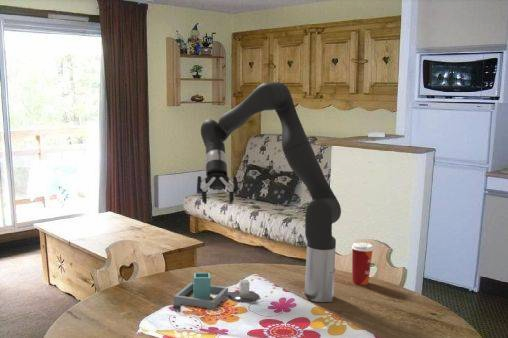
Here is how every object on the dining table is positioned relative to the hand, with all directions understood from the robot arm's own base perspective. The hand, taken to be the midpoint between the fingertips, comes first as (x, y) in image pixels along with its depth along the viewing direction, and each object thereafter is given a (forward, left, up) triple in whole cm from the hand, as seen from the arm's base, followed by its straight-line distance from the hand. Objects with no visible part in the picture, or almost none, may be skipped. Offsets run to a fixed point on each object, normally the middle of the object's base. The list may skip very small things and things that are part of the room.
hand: (218, 202), depth 171 cm
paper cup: (-47, -21, -29) cm, 59 cm away
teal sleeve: (-1, +17, -28) cm, 32 cm away
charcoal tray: (-1, +17, -29) cm, 33 cm away
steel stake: (-13, +11, -29) cm, 33 cm away
